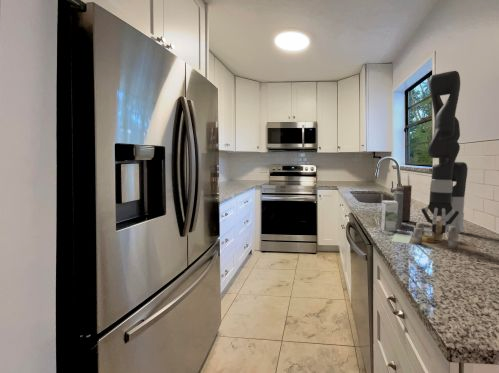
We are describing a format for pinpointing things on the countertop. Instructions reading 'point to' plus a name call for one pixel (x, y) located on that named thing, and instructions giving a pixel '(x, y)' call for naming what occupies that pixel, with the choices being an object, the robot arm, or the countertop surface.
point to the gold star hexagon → (428, 238)
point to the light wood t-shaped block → (438, 232)
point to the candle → (406, 202)
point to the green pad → (401, 238)
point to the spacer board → (448, 244)
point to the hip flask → (399, 205)
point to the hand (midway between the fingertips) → (438, 233)
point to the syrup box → (389, 215)
